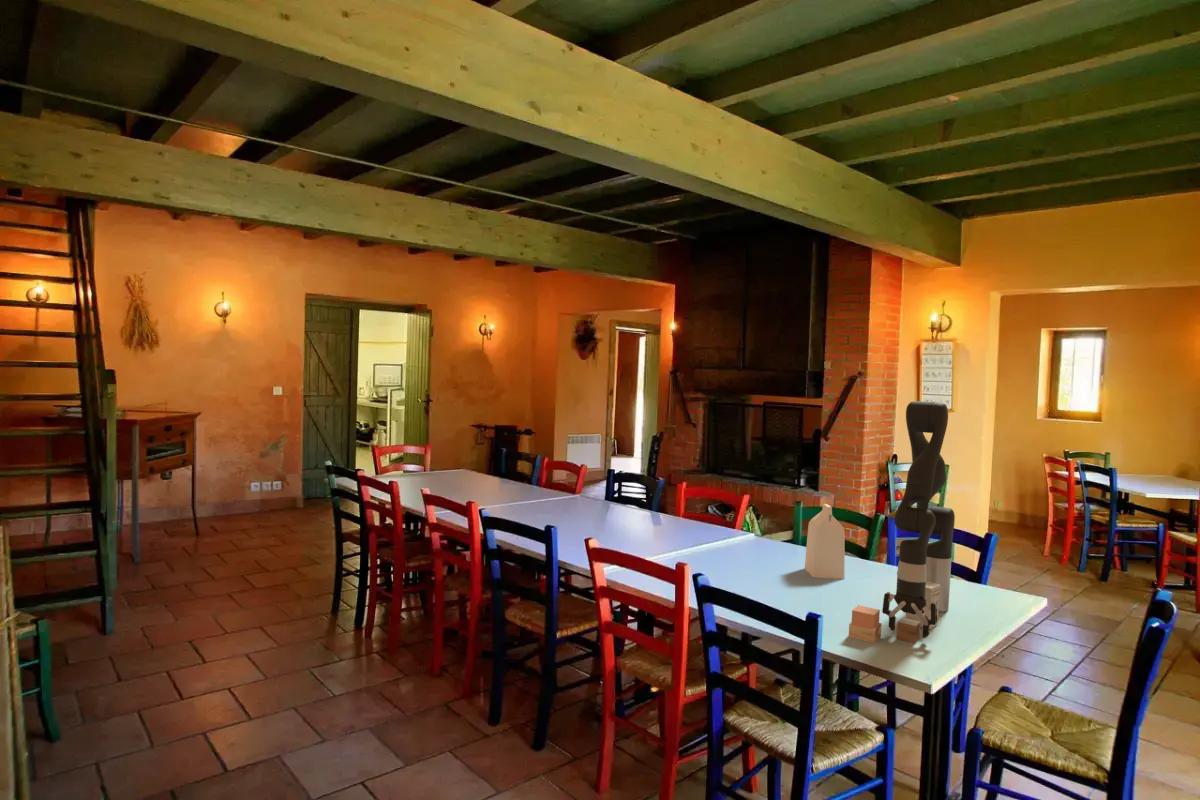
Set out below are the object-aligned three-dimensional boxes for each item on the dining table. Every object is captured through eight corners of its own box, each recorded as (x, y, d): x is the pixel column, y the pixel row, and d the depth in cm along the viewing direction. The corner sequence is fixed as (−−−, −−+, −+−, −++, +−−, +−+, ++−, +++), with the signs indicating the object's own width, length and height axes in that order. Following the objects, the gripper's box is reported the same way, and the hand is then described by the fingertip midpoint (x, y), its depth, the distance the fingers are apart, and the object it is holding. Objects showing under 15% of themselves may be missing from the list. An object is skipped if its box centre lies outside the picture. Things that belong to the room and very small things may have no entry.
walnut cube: (901, 634, 203) (902, 617, 202) (919, 638, 200) (920, 621, 199) (896, 639, 199) (897, 621, 198) (915, 643, 196) (916, 626, 195)
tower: (857, 618, 203) (858, 605, 203) (879, 623, 200) (879, 609, 200) (851, 624, 199) (852, 610, 198) (873, 629, 195) (873, 615, 195)
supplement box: (904, 623, 212) (906, 582, 211) (913, 618, 217) (916, 578, 217) (929, 630, 207) (931, 588, 206) (938, 624, 212) (941, 583, 211)
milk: (844, 578, 258) (848, 509, 257) (813, 577, 258) (816, 507, 257) (834, 569, 270) (837, 503, 269) (804, 568, 270) (807, 502, 269)
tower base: (856, 630, 204) (856, 617, 204) (880, 637, 200) (881, 623, 200) (848, 637, 199) (849, 623, 199) (873, 644, 195) (874, 629, 194)
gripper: (941, 580, 197) (938, 636, 198) (889, 569, 206) (886, 624, 206) (935, 585, 191) (932, 643, 192) (881, 574, 200) (878, 630, 200)
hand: (908, 633), depth 199 cm, fingers open, 8 cm apart
